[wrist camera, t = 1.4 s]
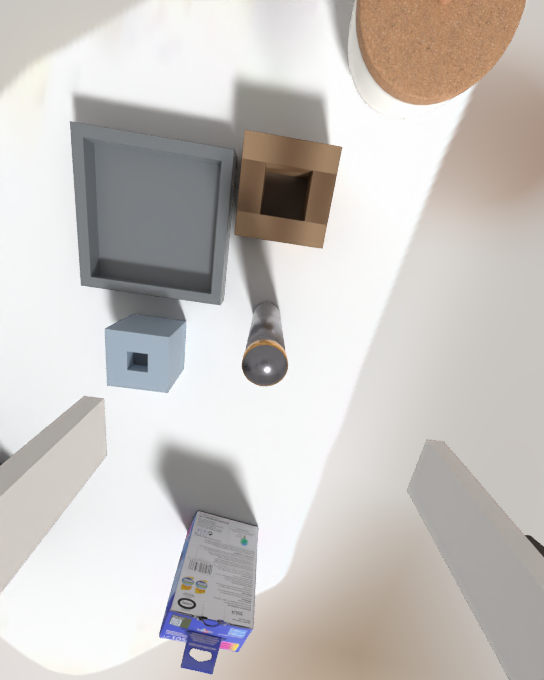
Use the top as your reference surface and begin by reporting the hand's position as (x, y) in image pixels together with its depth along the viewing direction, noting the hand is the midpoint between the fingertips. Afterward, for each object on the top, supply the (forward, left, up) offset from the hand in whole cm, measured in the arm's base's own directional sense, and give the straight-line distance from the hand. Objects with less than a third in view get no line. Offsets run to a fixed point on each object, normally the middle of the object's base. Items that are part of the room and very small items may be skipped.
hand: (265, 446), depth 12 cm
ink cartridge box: (-2, -34, -22) cm, 41 cm away
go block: (0, +12, -22) cm, 25 cm away
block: (-12, -5, -22) cm, 26 cm away
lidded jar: (+8, +24, -22) cm, 34 cm away
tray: (-12, +8, -22) cm, 26 cm away
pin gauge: (0, 0, -22) cm, 22 cm away
